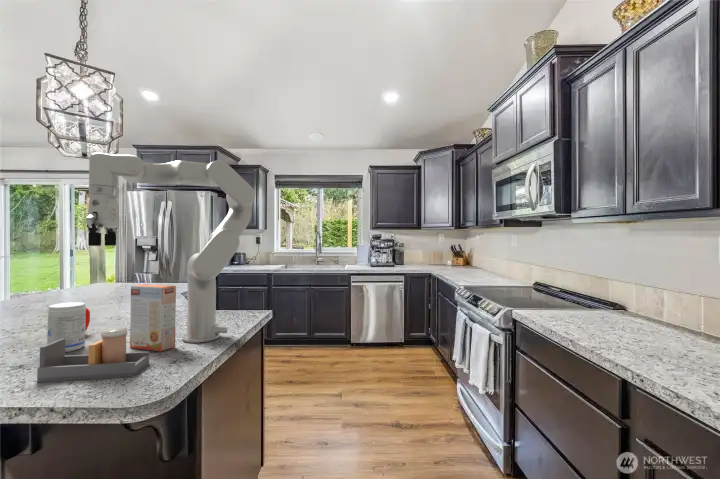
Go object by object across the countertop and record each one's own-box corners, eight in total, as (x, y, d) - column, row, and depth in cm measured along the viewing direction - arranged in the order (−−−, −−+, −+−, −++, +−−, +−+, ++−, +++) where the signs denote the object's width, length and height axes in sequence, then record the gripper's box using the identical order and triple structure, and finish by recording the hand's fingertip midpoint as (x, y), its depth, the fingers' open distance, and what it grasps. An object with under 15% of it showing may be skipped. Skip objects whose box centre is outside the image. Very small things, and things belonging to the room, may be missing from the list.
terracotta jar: (130, 363, 97) (131, 327, 97) (120, 370, 91) (121, 332, 91) (107, 364, 96) (108, 327, 96) (96, 371, 90) (96, 333, 90)
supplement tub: (44, 349, 112) (45, 304, 112) (81, 343, 119) (82, 300, 119) (50, 355, 106) (50, 308, 106) (88, 348, 113) (89, 304, 113)
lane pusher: (108, 362, 96) (109, 337, 96) (94, 371, 90) (94, 345, 90) (102, 362, 96) (103, 338, 96) (88, 372, 89) (88, 345, 89)
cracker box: (176, 347, 115) (177, 285, 115) (160, 352, 109) (161, 287, 110) (145, 343, 120) (146, 283, 120) (129, 348, 114) (129, 285, 114)
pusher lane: (149, 363, 100) (149, 334, 100) (133, 376, 90) (134, 343, 90) (62, 368, 95) (63, 337, 95) (37, 382, 86) (37, 348, 86)
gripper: (103, 189, 102) (102, 246, 102) (128, 196, 119) (127, 245, 119) (74, 187, 101) (73, 245, 101) (104, 195, 118) (103, 245, 117)
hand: (102, 245), depth 110 cm, fingers open, 9 cm apart
